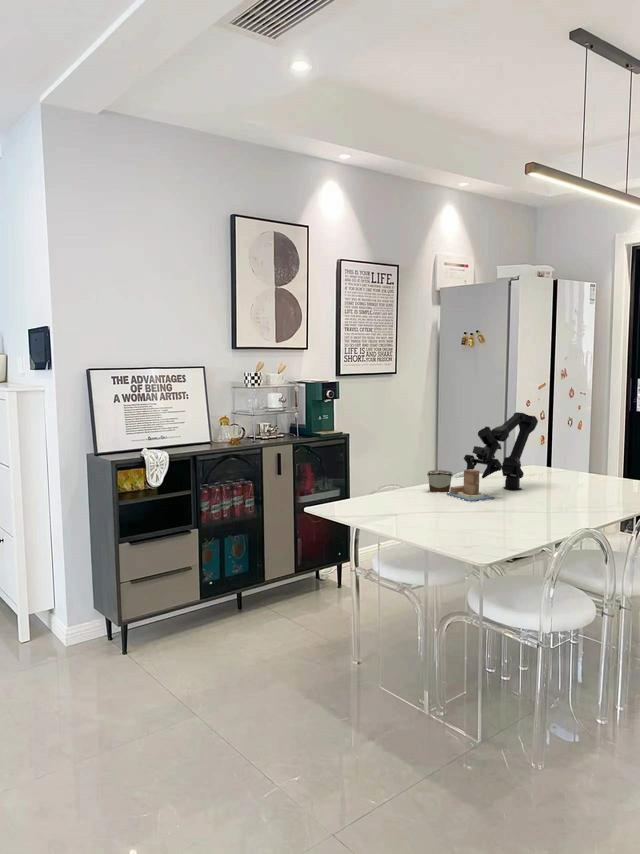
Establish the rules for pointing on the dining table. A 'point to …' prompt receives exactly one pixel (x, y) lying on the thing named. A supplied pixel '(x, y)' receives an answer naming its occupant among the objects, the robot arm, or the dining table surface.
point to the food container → (439, 480)
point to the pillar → (471, 482)
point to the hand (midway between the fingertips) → (474, 476)
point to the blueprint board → (458, 493)
